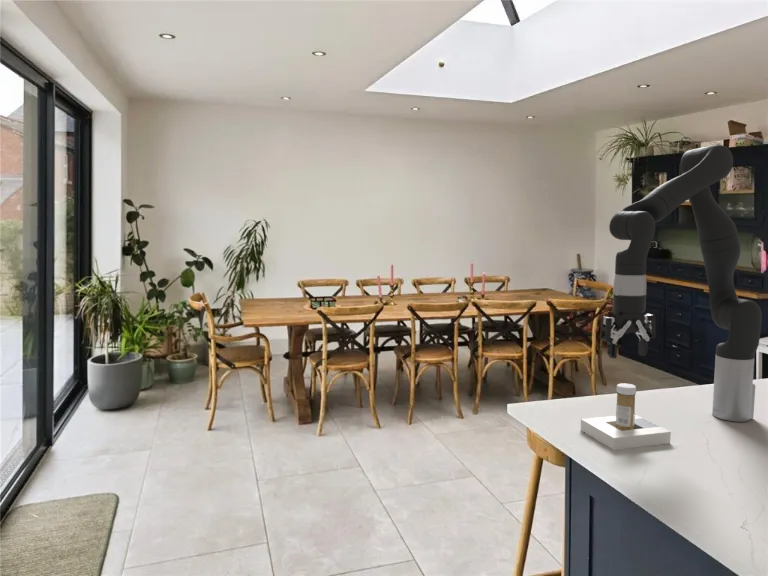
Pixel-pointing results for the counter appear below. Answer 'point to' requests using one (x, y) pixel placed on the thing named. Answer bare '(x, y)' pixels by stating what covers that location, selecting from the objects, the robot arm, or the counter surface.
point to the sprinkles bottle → (625, 406)
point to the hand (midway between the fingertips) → (627, 356)
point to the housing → (625, 433)
